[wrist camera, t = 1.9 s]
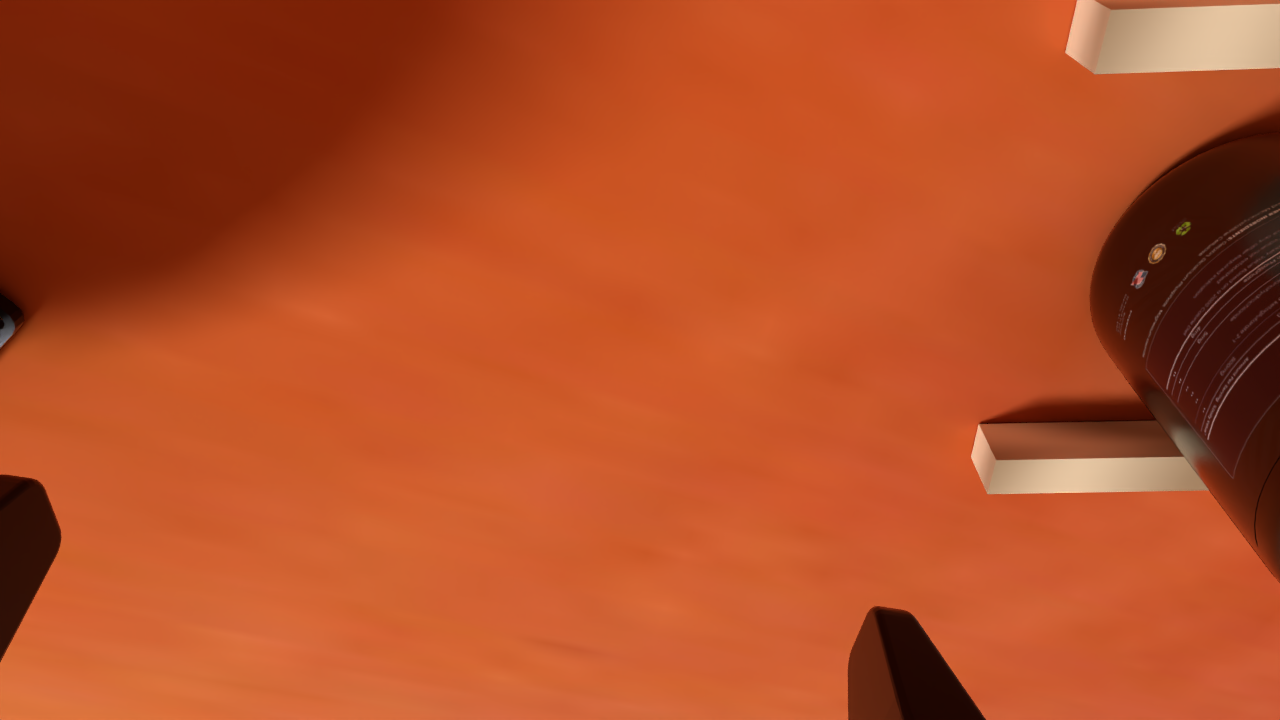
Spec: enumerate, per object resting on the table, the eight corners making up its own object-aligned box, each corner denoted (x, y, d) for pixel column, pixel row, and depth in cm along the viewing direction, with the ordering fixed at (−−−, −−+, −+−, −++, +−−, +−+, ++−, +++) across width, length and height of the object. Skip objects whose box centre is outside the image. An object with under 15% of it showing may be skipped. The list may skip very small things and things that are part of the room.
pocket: (971, 457, 25) (987, 494, 24) (1079, -9, 18) (1111, 9, 16) (1378, 449, 24) (1417, 486, 23) (1656, -30, 17) (1732, -14, 16)
